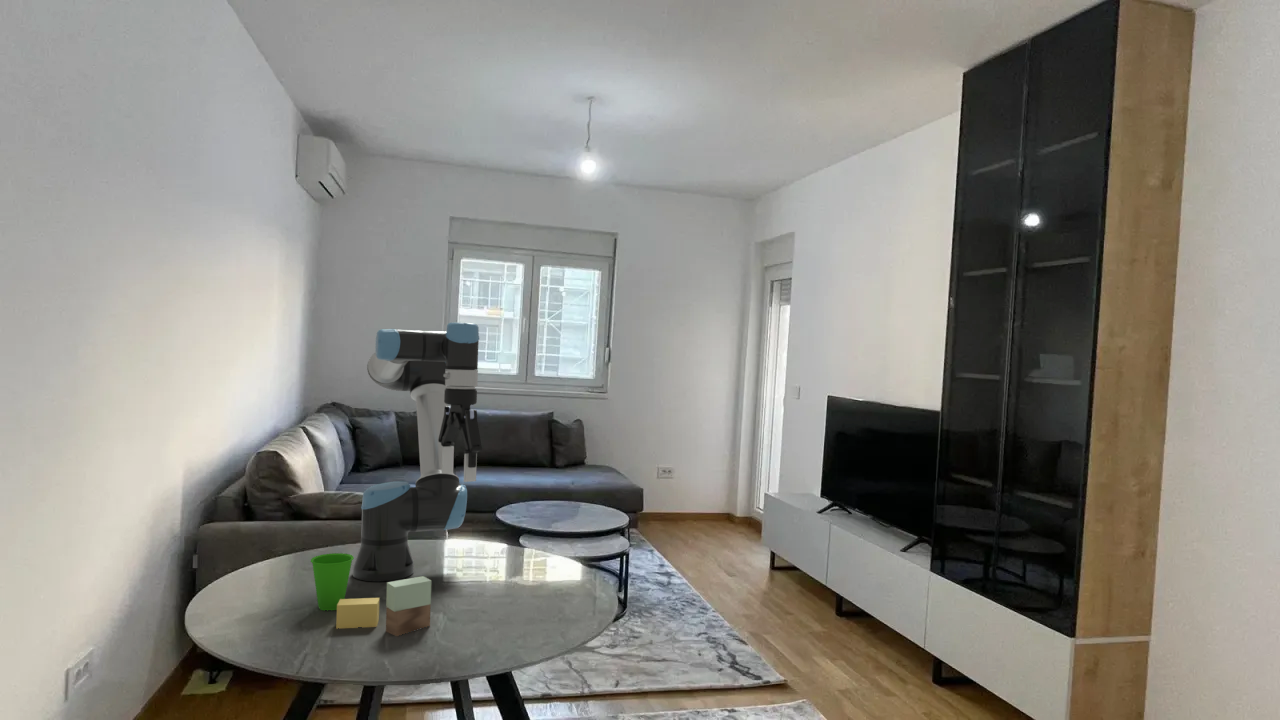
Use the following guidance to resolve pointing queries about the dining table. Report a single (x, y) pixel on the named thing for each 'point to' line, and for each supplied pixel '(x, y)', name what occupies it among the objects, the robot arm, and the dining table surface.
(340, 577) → the cup
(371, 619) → the mustard brick
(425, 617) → the walnut brick
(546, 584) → the dining table surface
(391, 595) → the sage brick
